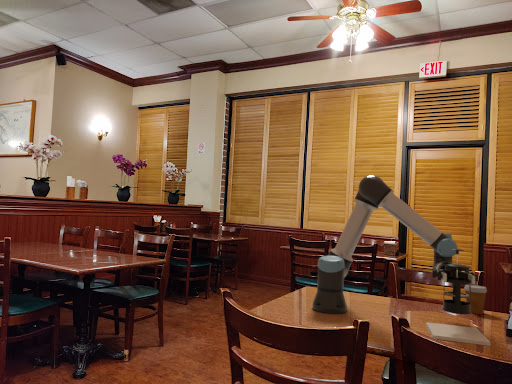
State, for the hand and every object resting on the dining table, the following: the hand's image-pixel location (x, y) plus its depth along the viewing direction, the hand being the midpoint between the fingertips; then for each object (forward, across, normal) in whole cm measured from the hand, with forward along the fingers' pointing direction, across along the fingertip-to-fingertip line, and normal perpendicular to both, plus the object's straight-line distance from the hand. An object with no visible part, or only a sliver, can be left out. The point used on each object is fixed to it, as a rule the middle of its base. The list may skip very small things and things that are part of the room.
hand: (459, 278), depth 140 cm
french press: (-5, 0, -13) cm, 14 cm away
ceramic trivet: (-5, 0, -21) cm, 22 cm away
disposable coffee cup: (-50, -17, -21) cm, 57 cm away
